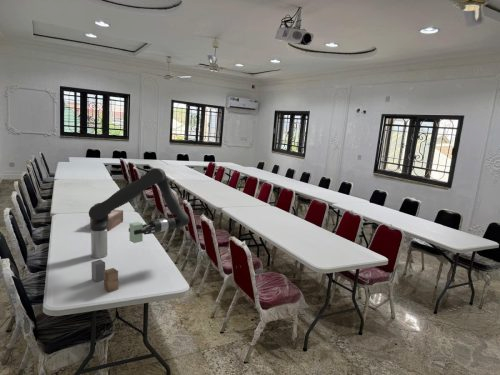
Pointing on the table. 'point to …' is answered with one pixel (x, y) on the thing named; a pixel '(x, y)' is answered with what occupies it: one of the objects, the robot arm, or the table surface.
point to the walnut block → (111, 280)
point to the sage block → (134, 227)
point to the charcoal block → (98, 270)
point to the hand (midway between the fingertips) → (131, 231)
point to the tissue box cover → (113, 219)
